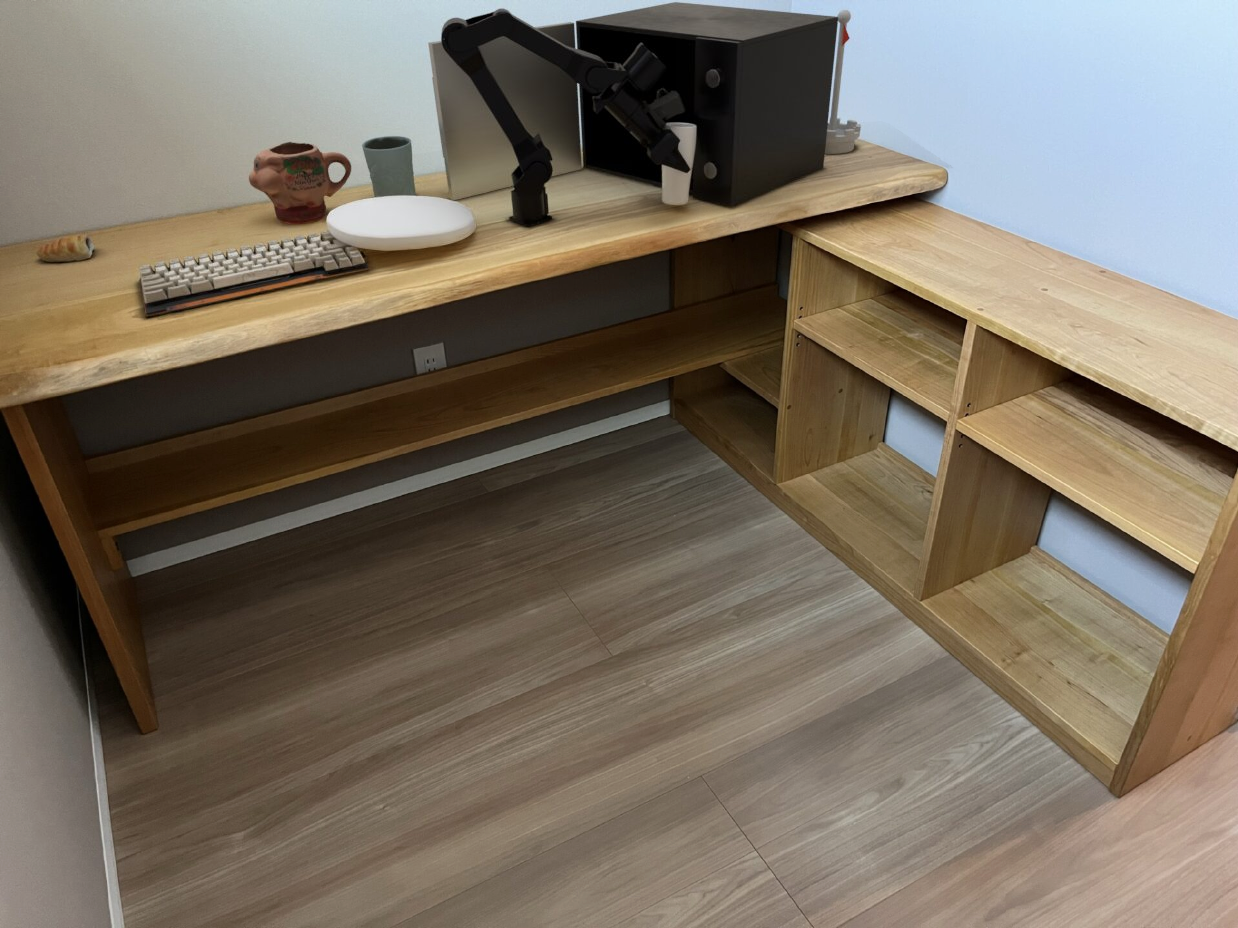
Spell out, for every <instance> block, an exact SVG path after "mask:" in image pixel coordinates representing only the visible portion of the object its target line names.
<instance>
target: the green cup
mask: <svg viewBox="0 0 1238 928" xmlns="http://www.w3.org/2000/svg"><path fill="white" fill-rule="evenodd" d="M361 147H362V151H363V155H364V159H365V163H366V166H367V169H368V172H369V178H370V180H371V184H372V191H373V195H374V198H375V197H384V196H417V194H416V185H415V178H414V177H415V176H414V174H415V173H414V165H413V164H414V163H413V146H412V140H411V139H410V138H409V137H407V136H400V135H389V136H379V137H374V138H370V139H367V140H365V141H364V142H362V144H361Z"/></svg>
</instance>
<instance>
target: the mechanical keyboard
mask: <svg viewBox="0 0 1238 928" xmlns="http://www.w3.org/2000/svg"><path fill="white" fill-rule="evenodd" d="M306 236H307V237H305V236H304V234H301V235H295V236H294V239H292V238H291V237H286V238H285V237H284V238H281V239H280V241H279V242H278V240H277V239H274V240H268V241H267V246H266V245H265V243H264V242H258V243H254V244H253V248H252V247H251V245H250V244H247V245H241V246H240V247H239V249H240V250H239V251H238V250H237V248H236V247H232V248H226V249H225V253H224V252H223V251H222V249H221V250H217V251H216V250H215V251H212V252H211V256H210V255H209V253H208V252H205V253H200V254H197V259H196V257H194V255H190V256H184V257H183V263H182V261H181V260H180V259H179V258H174V259H169V260H168V265H167V263H166V262H165V261H164V260H163V261H158V262H154V268H153V267H152V265H151V264H150V263H146V264H141V265H139V266H138V268H139V276H140V278H139V280H138V281H139V287H140V292H141V298H142V302H143V307H144V314H145V318H151V317H155V316H159V315H164V314H168V313H174V312H175V313H176V312H178V311H179V312H181V311H184V310H187V309H193V308H196V307H201V306H206V305H211V304H215V303H220V302H224V301H230V300H233V299H238V298H242V297H246V296H251V295H257V294H261V293H265V292H269V291H273V290H278V289H282V288H287V287H291V286H294V285H300V284H303V283H309V282H313V281H317V280H323V279H328V278H333V277H337V276H342V275H348V274H352V273H353V274H354V273H358V272H362V271H370V266H369V265H368V263H367V261H366V260H365V258H366V256H367V255H366V254H365V252H364V251H363V250H359V249H358V247H354V246H351V245H348V244H346V243H343V242H341V241H340V240H338V239H336V238H335V237H334V236H333V235H332V234H331V233H330V232H329V230H328V229H327V230H324V231H323V230H322V231H320V234H318V233H317V232H313V233H307V235H306Z"/></svg>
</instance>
